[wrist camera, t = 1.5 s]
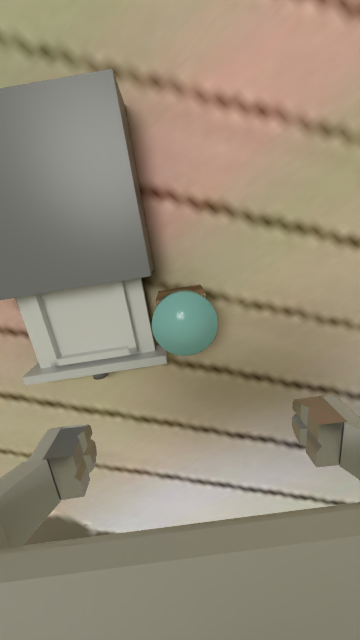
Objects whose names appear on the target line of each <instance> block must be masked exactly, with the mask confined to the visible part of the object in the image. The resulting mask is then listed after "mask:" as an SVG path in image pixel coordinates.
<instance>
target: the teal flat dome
mask: <svg viewBox="0 0 360 640" xmlns="http://www.w3.org/2000/svg"><path fill="white" fill-rule="evenodd" d="M217 329H218V319H217V315H216V312H215V310H214V308H213V306H212V305H211V303H210V302H209V301H208V299H207V298H205V297H204V296H203V295H201V294H200V293H198V292H195V291H192V290H177V291H174V292H171V293H169V294H167V295H166V296H165V297H163V298H162V299H161V300H160V302H159V303H158V304H157V306H156V308H155V311H154V314H153V318H152V331H153V335H154V337H155V339H156V341H157V342H158V344H159V345H160V346H161V347H162V348H163V349H165V350H166V351H168V352H170V353H172V354H176V355H181V356H187V355H193V354H196V353H199V352H201V351H203V350H204V349H205V348H207V347H208V346H209V345H210V344H211V342H212V341H213V340H214V338H215V336H216V333H217Z"/></svg>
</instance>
